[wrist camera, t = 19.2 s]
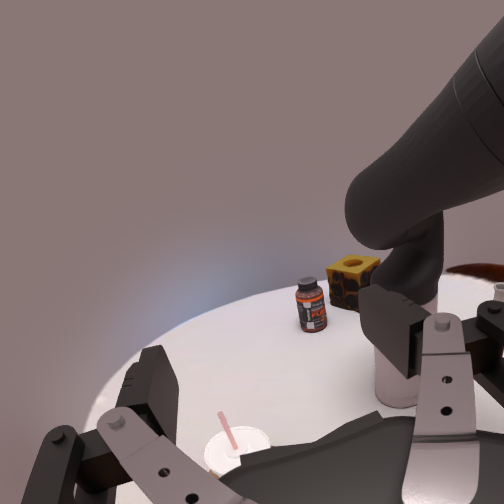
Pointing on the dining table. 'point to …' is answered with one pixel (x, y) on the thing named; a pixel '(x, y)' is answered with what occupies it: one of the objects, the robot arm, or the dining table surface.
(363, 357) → the dining table surface
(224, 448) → the beverage cup
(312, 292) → the supplement bottle
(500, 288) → the flask
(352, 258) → the yellow tissue box cover
